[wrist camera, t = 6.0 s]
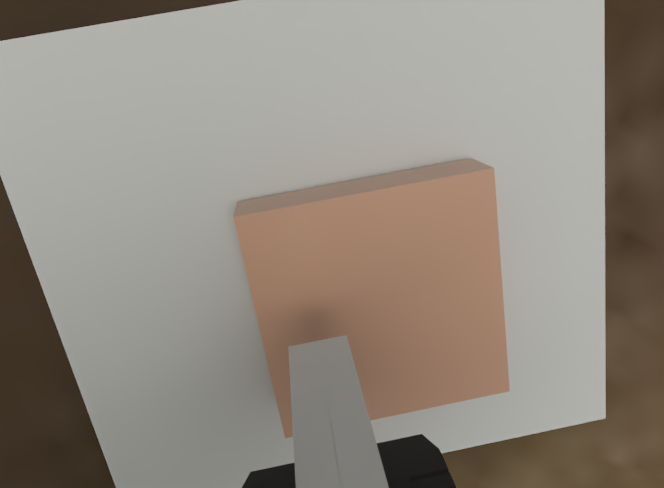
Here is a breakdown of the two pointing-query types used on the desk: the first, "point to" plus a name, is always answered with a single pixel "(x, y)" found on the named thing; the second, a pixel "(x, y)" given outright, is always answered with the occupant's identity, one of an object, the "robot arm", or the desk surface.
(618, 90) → the desk surface
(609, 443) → the desk surface
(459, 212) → the tile
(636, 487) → the desk surface
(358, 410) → the robot arm
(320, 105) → the mat
